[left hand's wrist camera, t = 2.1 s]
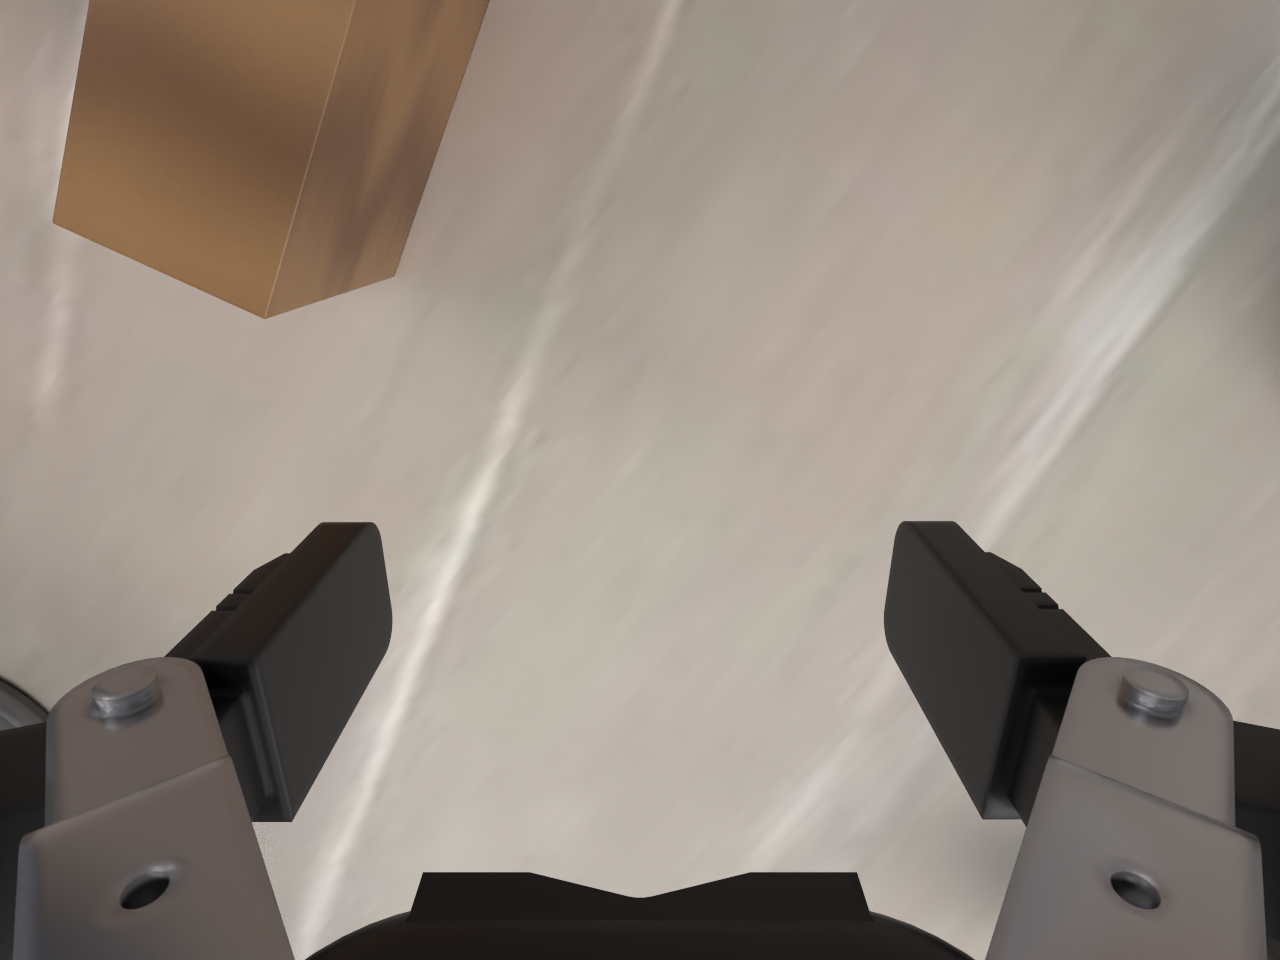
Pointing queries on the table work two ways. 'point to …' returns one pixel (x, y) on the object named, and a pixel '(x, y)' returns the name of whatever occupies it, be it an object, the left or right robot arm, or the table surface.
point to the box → (261, 138)
